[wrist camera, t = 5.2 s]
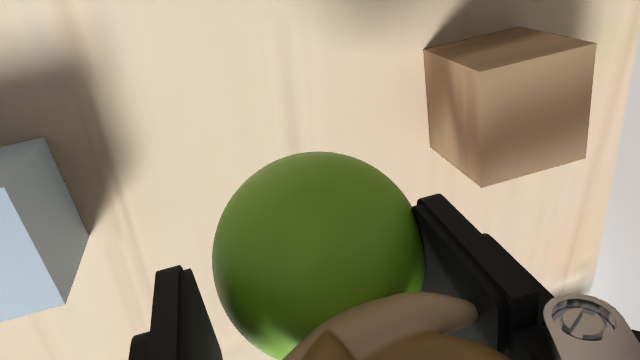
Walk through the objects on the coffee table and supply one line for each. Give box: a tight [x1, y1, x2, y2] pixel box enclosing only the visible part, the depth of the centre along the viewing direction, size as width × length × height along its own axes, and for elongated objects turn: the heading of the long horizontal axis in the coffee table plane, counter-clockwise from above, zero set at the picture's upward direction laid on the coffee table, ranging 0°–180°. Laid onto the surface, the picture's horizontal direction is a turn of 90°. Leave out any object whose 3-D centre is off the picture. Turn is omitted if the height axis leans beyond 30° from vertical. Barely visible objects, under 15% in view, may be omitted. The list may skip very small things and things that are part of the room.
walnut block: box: [423, 27, 596, 188], centre depth 22 cm, size 5×5×5 cm
